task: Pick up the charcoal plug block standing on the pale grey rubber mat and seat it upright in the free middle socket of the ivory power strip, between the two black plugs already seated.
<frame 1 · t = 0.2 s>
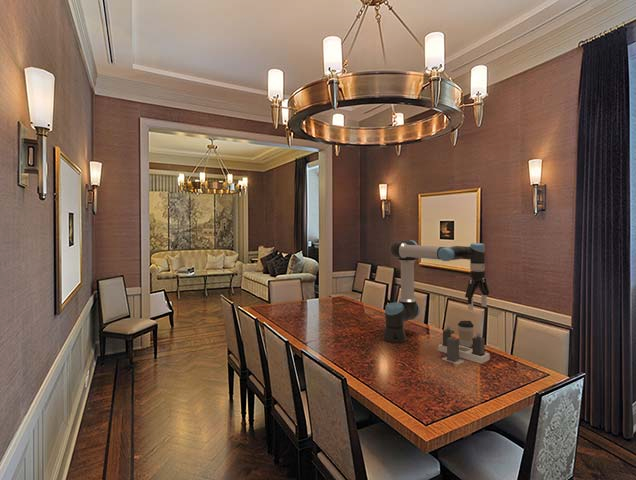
hand: (477, 308, 199), 27 cm above the table, fingers open, 13 cm apart
mat: (452, 360, 193), on the table
plug: (453, 347, 193), on the mat
coffee cup: (465, 345, 217), on the table
strip: (462, 356, 200), on the table
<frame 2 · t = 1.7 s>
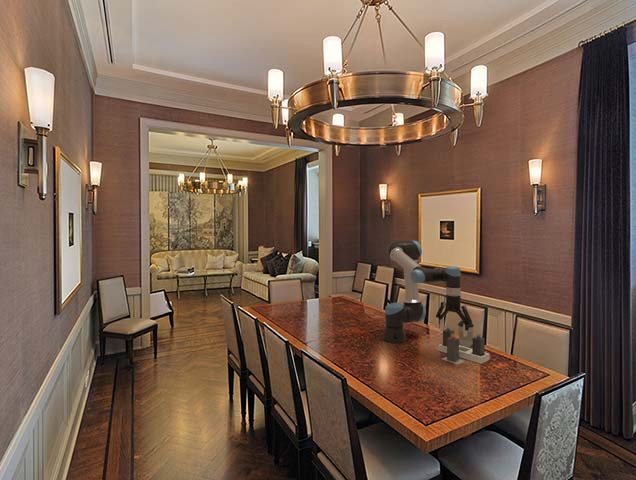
hand: (453, 333, 192), 15 cm above the table, fingers open, 13 cm apart
nothing on the table moved.
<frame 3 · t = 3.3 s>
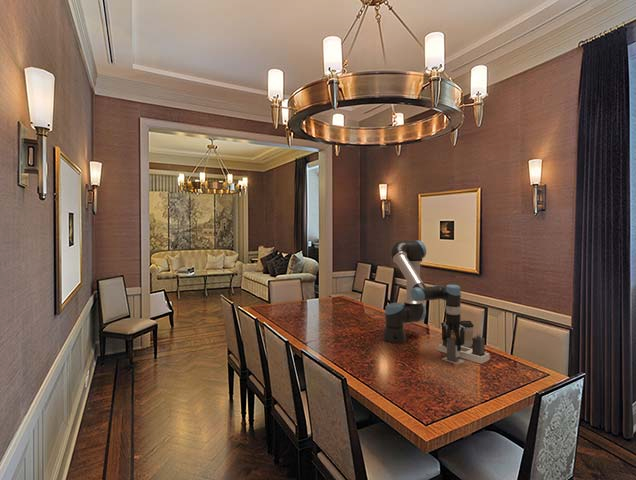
hand: (452, 355, 193), 3 cm above the table, fingers closed on plug, 4 cm apart
plug: (453, 347, 193), on the mat, touching gripper
everything else where it was.
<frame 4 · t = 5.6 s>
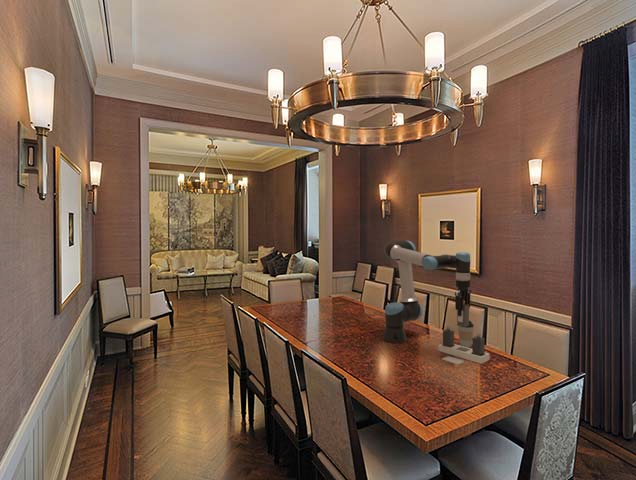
hand: (462, 320, 199), 20 cm above the table, fingers closed on plug, 4 cm apart
plug: (463, 312, 199), point 25 cm above the table, touching gripper
everything else where it was.
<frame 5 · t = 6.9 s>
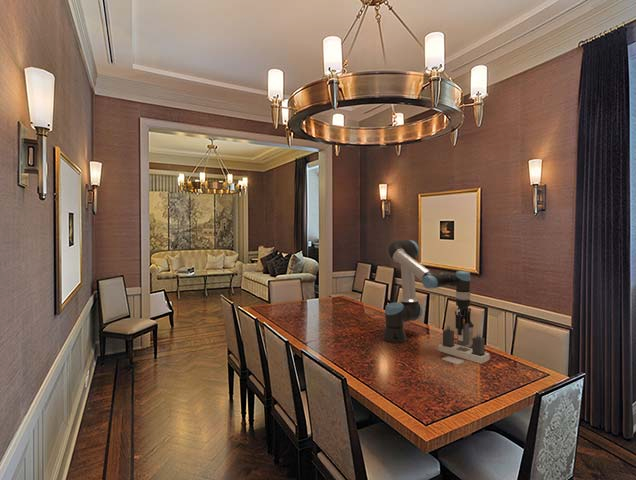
hand: (463, 339, 199), 10 cm above the table, fingers closed on plug, 4 cm apart
plug: (463, 331, 199), point 14 cm above the table, touching gripper
everything else where it was.
when the fingers open (5 cm above the table, at t = 8.0 s): plug drops 2 cm, resting on strip.
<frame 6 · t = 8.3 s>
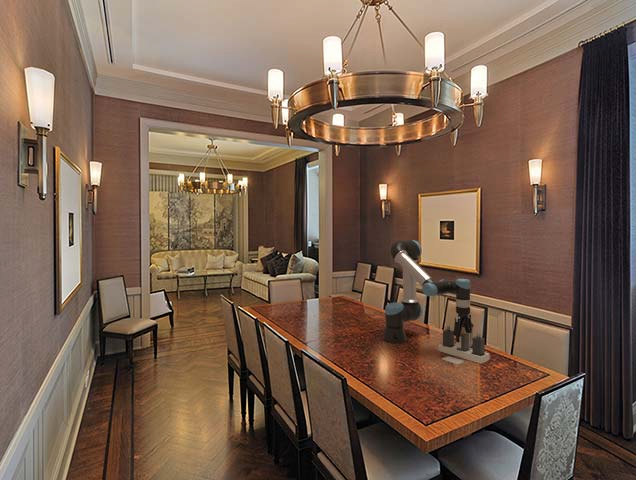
hand: (462, 345, 200), 6 cm above the table, fingers open, 9 cm apart
plug: (462, 342, 200), point 8 cm above the table, touching strip
everything else where it was.
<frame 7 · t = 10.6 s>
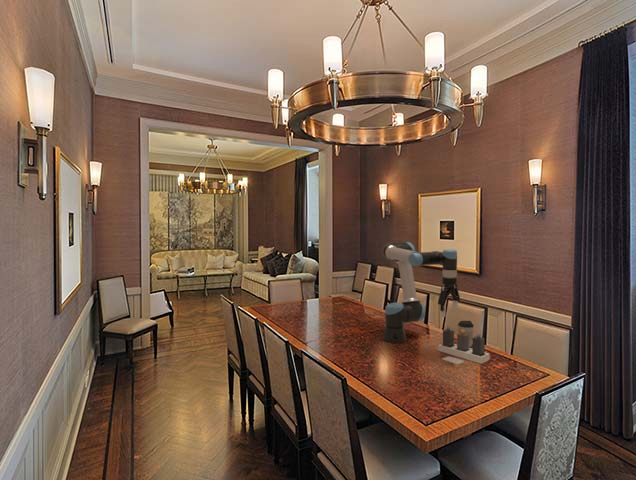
hand: (448, 314, 199), 24 cm above the table, fingers open, 13 cm apart
nothing on the table moved.
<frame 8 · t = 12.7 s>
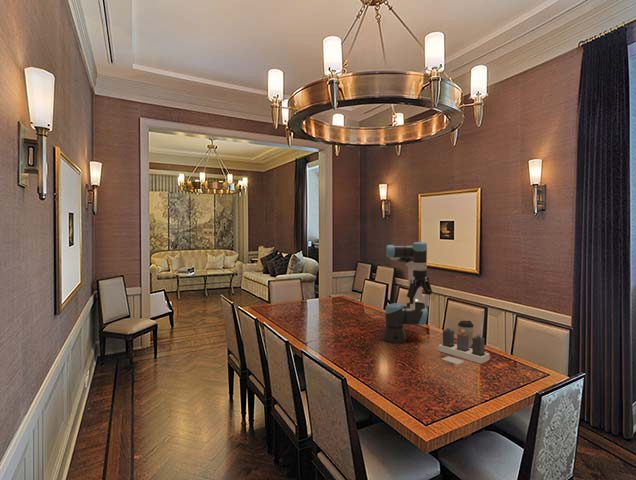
hand: (419, 307, 196), 29 cm above the table, fingers open, 13 cm apart
nothing on the table moved.
at the end: plug 0.0 cm off-centre on the strip, point 7.8 cm above the strip's base; plug tilted 0°; the gripper is holding nothing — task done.
